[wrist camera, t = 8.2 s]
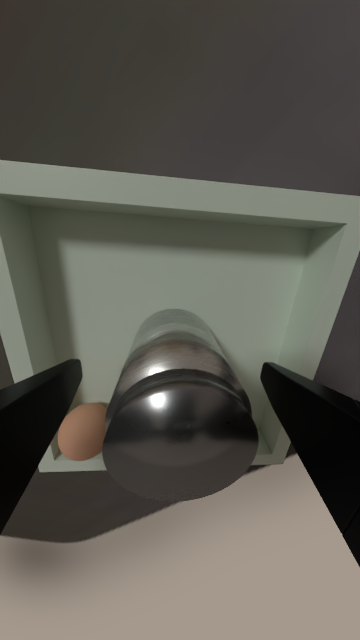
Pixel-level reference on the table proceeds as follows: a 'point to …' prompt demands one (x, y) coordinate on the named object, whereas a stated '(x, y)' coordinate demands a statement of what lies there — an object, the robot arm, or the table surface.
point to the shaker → (177, 414)
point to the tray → (167, 277)
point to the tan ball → (83, 432)
